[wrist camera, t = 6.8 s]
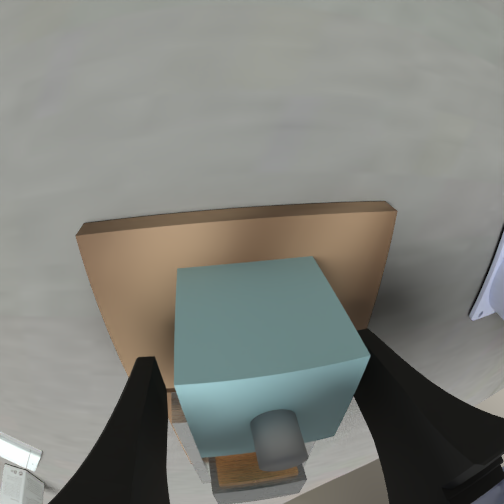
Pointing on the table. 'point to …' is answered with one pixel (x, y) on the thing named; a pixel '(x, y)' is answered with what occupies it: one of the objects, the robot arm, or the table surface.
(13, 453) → the hard drive
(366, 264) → the frame
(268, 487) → the block
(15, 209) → the table surface
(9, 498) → the skincare box
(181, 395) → the block
